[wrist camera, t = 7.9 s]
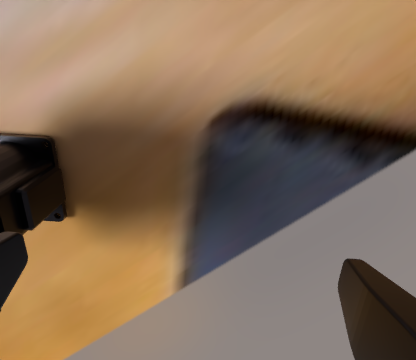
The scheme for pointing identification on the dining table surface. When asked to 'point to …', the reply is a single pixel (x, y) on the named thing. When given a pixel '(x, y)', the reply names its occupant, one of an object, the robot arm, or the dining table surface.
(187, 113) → the dining table surface
